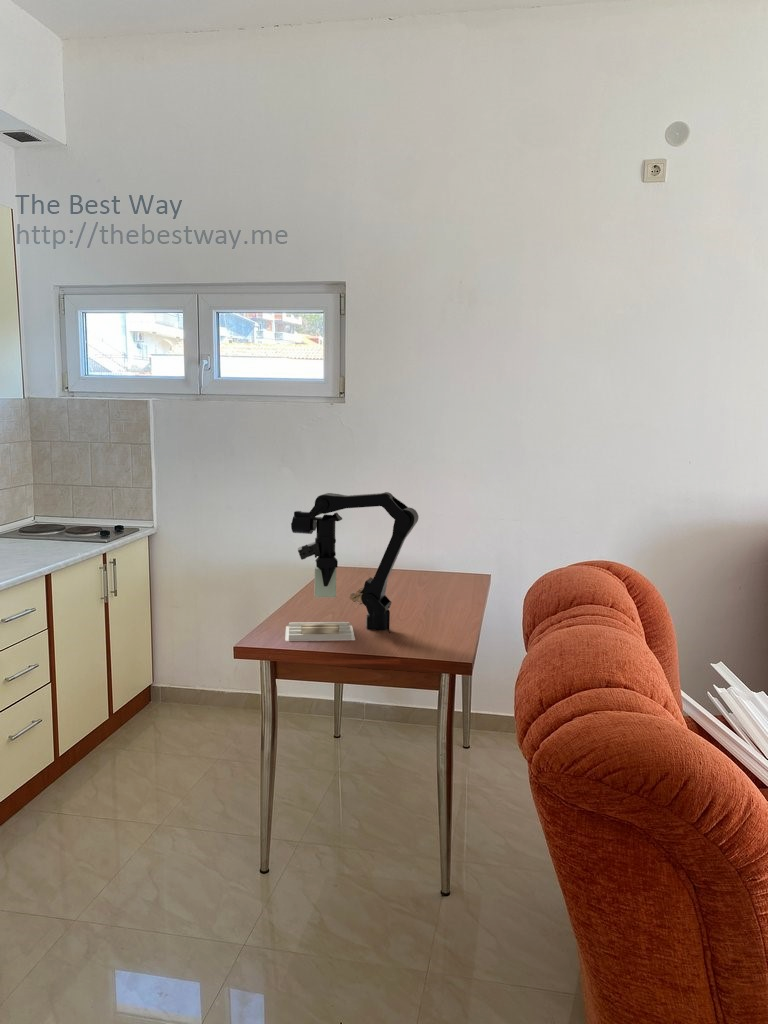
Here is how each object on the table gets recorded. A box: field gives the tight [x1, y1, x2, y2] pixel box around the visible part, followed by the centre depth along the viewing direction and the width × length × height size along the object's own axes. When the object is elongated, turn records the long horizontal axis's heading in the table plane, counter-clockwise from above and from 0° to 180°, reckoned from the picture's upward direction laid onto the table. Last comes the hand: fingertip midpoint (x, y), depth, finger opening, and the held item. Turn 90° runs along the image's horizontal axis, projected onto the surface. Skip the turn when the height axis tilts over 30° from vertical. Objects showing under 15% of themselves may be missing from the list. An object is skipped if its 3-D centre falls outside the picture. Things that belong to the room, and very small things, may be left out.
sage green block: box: [313, 566, 337, 598], centre depth 240 cm, size 6×3×9 cm, turn 97°
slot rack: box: [284, 621, 356, 642], centre depth 231 cm, size 20×15×2 cm
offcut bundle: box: [301, 624, 339, 634], centre depth 227 cm, size 11×3×4 cm, turn 96°
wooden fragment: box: [348, 586, 364, 605], centre depth 283 cm, size 26×11×1 cm, turn 164°
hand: (325, 585), depth 240 cm, fingers closed on sage green block, 3 cm apart
